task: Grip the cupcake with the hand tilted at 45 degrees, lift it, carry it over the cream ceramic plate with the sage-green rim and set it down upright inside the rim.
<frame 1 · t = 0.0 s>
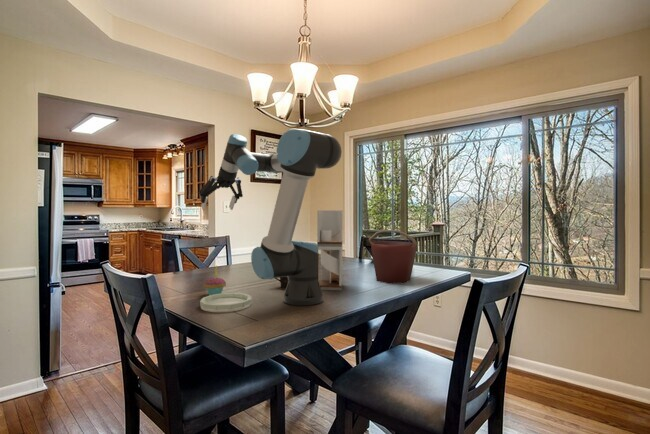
hand: (217, 208, 164), 36 cm above the table, tool tilted 35°, fingers open, 13 cm apart
coffee mug: (284, 287, 162), on the table
rimmed plate: (226, 305, 130), on the table
display case: (330, 287, 161), on the table
bucket: (392, 280, 178), on the table
cupcake: (215, 295, 146), on the table
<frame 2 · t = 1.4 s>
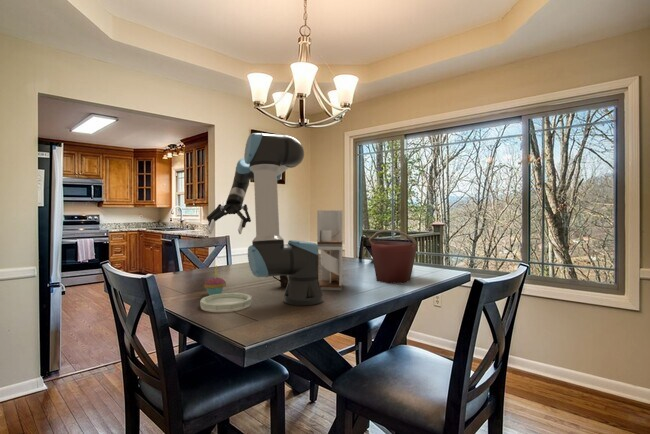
hand: (224, 232, 157), 25 cm above the table, tool tilted 45°, fingers open, 13 cm apart
nothing on the table moved.
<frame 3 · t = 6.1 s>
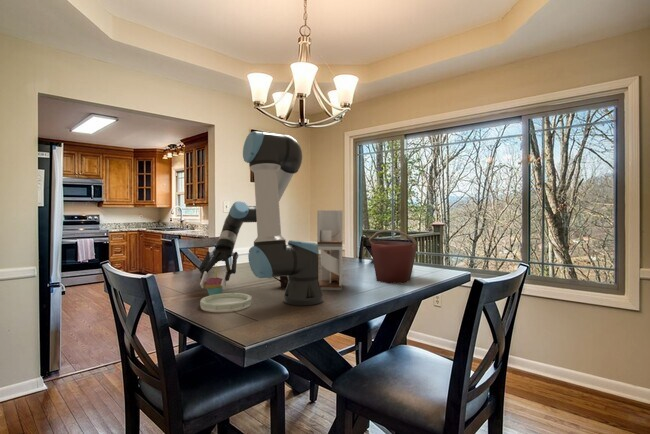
hand: (212, 286, 143), 4 cm above the table, tool tilted 45°, fingers closed on cupcake, 8 cm apart
cupcake: (215, 295, 146), on the table, touching gripper
everything else where it was.
when the fingers open (7 cm above the table, at t = 12.0 s): cupcake drops 1 cm, resting on rimmed plate.
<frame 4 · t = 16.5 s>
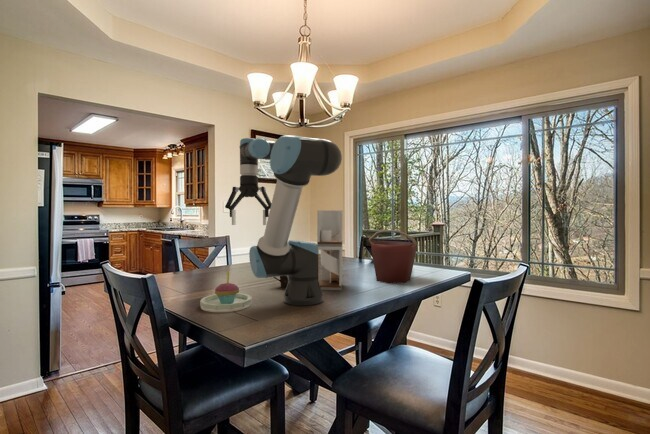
hand: (249, 225, 152), 29 cm above the table, tool pointing down, fingers open, 13 cm apart
cupcake: (227, 303, 130), point 1 cm above the table, touching rimmed plate
everything else where it was.
at the end: cupcake inside the target area on the rimmed plate (0.3 cm from its centre), point 0.8 cm above the rimmed plate's base; cupcake tilted 0°; the gripper is holding nothing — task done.
